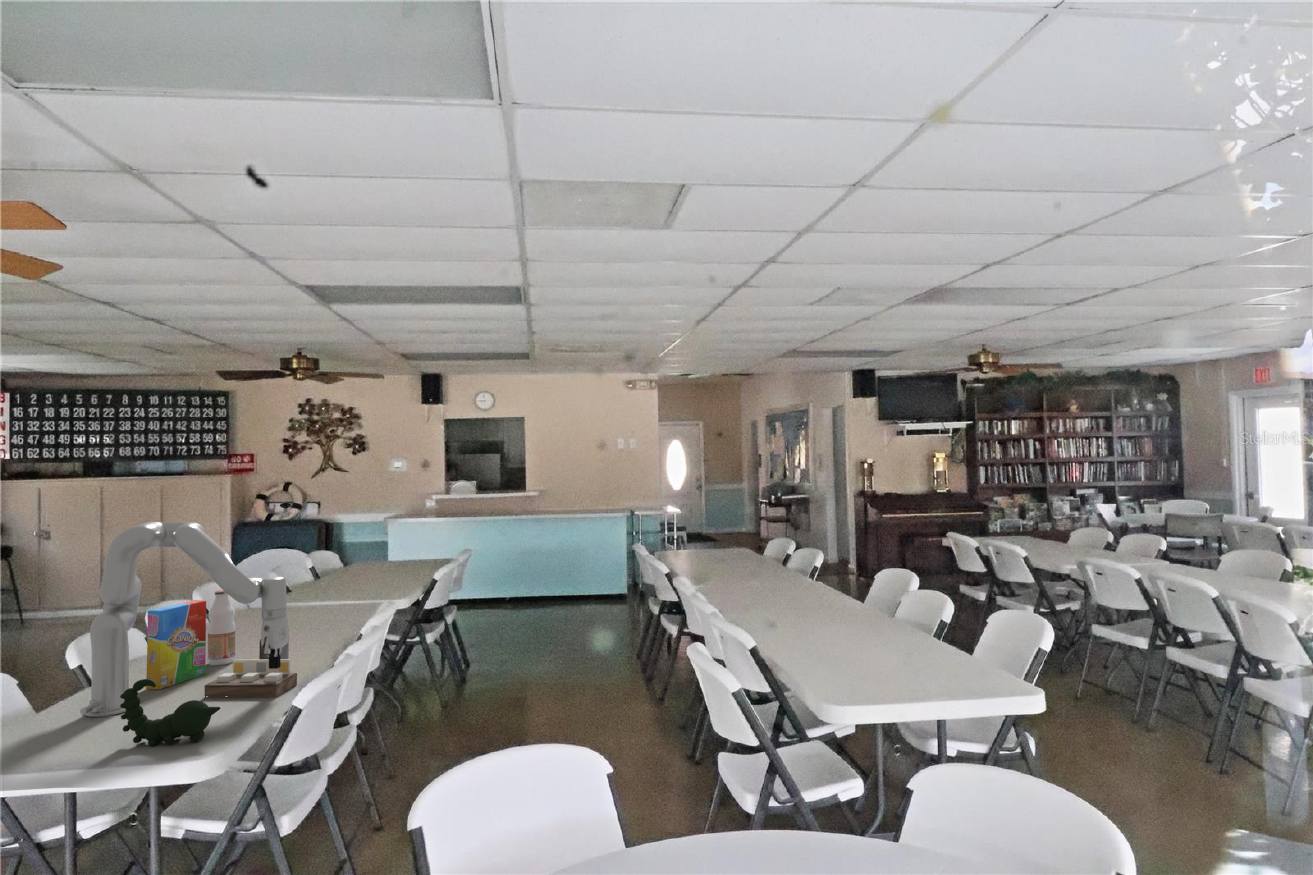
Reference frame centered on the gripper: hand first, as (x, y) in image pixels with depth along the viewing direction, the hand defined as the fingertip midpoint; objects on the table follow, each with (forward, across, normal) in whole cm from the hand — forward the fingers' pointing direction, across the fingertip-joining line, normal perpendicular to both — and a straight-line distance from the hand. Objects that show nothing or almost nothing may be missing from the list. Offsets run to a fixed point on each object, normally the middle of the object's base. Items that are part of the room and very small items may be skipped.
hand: (274, 667), depth 255 cm
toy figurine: (+8, -46, +4) cm, 47 cm away
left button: (+4, 0, +16) cm, 17 cm away
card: (+4, +7, +8) cm, 11 cm away
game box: (+8, +13, +42) cm, 45 cm away
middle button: (+5, 0, +8) cm, 9 cm away
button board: (+8, +1, +8) cm, 12 cm away
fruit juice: (+8, +38, +41) cm, 57 cm away
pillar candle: (+8, +19, +10) cm, 23 cm away
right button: (+5, 0, 0) cm, 5 cm away
